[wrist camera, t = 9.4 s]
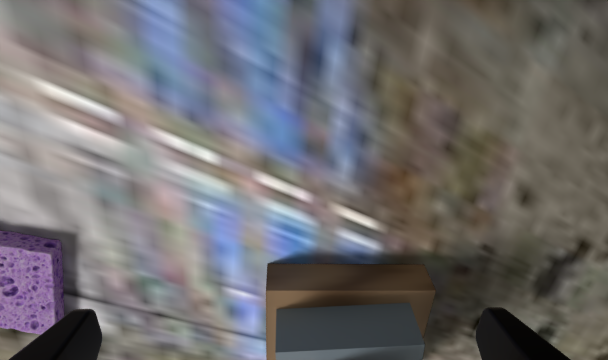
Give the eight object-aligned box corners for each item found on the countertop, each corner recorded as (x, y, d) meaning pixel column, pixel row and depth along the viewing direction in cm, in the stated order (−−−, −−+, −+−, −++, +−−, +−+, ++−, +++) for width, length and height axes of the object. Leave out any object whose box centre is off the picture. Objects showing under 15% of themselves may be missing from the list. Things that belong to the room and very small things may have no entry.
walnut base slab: (420, 257, 26) (435, 290, 24) (397, 358, 31) (407, 395, 28) (268, 256, 26) (266, 290, 23) (268, 359, 31) (266, 396, 28)
